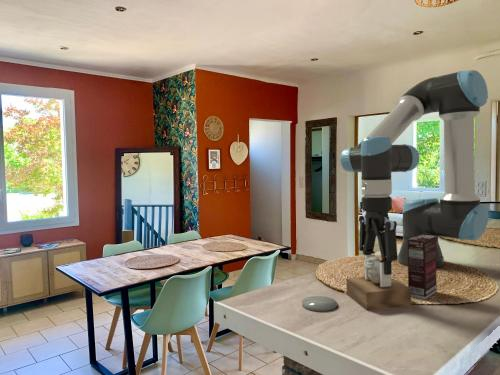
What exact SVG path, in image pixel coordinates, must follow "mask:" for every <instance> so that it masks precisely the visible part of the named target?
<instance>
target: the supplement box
mask: <svg viewBox="0 0 500 375" xmlns="http://www.w3.org/2000/svg"><path fill="white" fill-rule="evenodd" d="M407 240H408V266H407V271H408V272H407V279H408V280H407V284H408V285H407V286H408V287H409V288H411V298H416V299H420V300H427V299H428V298H430V297H431V296H433V295H434V294H435V293H437V290H438V288H437V267H436V236H431V235H418V236H415V237H412V238H410V239H407Z"/></svg>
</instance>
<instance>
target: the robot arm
mask: <svg viewBox="0 0 500 375" xmlns="http://www.w3.org/2000/svg"><path fill="white" fill-rule="evenodd" d="M488 97H489V91H488V85H487V82H486V80H485V78H484V76H483V74H481V73H480V72H479V71H477V70H475V69H470V70H462V71H461V70H459V71H457V72H451V73H448V74H443V75H439V76H435V77H434V76H433V77H429V78H427V79H424V80H422V81H420V82H419V83H417V84H415V85H414V86H412V87H411V88H409V89H408V90H407V91H406V92H405V93H404V94H402V96H400V98H398V100H397V101H396V103H395V107H394V108H393V109H392V110H391V111H390V112H389V113H388V114H387V115H386V116H385V117H384V118H383V119H381V121H380V122H379V123H378V124H377V125H376V126H375V127H374V128H373V129H372V130H371V131H370V132H369V133H368V134H367V135H366V136H365V137H363V138H362V139H361V141H360V143H358V144H357V145H356V146H355V147H348V148H345V149H344V150H342V152H341V154H340V159H339V161H340V165H341V167H342V169H343V170H344V171H345V172H349V173H361V184H360V187H361V194H362V195H363V196H362V197H361V210H362V211H363V212H365V214H364V215H360V216H359V217H358V220H359V242H358V244H359V245H358V246H359V249H358V250H359V251H360V252H362V254H363V255H364V261H365V260H367V259H368V258H370V257H376V255H375V254H376V252H375V250H374V249H375V244H376V239H377V243H378V248H379V251H380V257H381V259H380V260H379V261H380V287H388V286H391V278H392V271H393V270H392V269H393V268H392V262H395V261H398V263H399V264H401V265H405V266H407V267H408V240H407V239H410V238H412V237H415V236H418V235H431V236H436V268H439V267H443V266H444V265H445V258H444V255H443V252H442V250H441V246H440V243H439V237H440V238H441V237H442V238H450V239H454V240H455V239H457V240H461V241H477V240H478V239H480V238H481V237H482V236H483V235H484V233H485V230H486V228H487V225H488V222H489V212H488V208H487V207H486V206H485V205H483V204H481V198H480V197H479V196H478V195H477V194H476V193H475V189H476V188H475V186H476V185H475V179H476V177H475V118H477V117H478V115H480V113H481V111H480V110H481V108H482V107H484V106H485V105H486V104H487V102H488ZM480 107H481V108H480ZM432 113H438V117H439V118H440V119H441V120H443V126H444V127H443V133H444V134H443V136H444V139H443V142H444V143H443V145H444V147H443V148H444V149H443V150H444V194H442V196H441V197H439V199H438V198H437V197H431V198H429V197H428V198H421V199H410V200H405V201H404V202H403V204H402V212H401V214H402V242H401V246H400V248H399V253H398V246H397V225H398V223H397V221H396V220H394V221H392V220H390V217H389V212H390V211H392V208H393V207H392V206H393V205H392V204H393V200H392V197H391V196H390V195H392V194H393V185H392V173H406V172H407V173H408V172H410V171H413V170H414V169H416V168H417V167H418V165H419V163H420V158H421V157H420V153H419V150H418V149H417V148H416V147H415V146H413V145H411V144H406V143H405V144H404V143H402V144H394V143H395V142H396V141H397V140H398V138H399V137H400V136H401V135H402V134H403V133H404V132H405V131H406V129H407V128H408V127H409V126H410V125H412V123H413V122H415V121H418V120H419V119H421V118H422V117H423V116H425V115H427V114H428V115H429V114H432ZM364 277H365V279H370V278H369V276H368V271H366V269H365V268H364Z"/></svg>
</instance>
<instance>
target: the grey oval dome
mask: <svg viewBox="0 0 500 375" xmlns="http://www.w3.org/2000/svg"><path fill="white" fill-rule="evenodd" d="M301 306H302V308H304V309H306V310H308V311H312V312H323V313H324V312H330V311H333V310H335V309H336V308H338V307H337V306H338V302H337V300H335V298H332V297H328V296H324V295H313V296H307V297H304V298H303V299H302V300H301Z"/></svg>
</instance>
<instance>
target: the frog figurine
mask: <svg viewBox="0 0 500 375" xmlns="http://www.w3.org/2000/svg"><path fill="white" fill-rule="evenodd" d="M379 260H381V259H380V258H379V257H378V256H375V257H370V258H368V259H367V260H364V261H363V267H364V270H365V269H366V271H368V276H369V278H370V280H371V281H372V282H374V283H376V284H380V261H379Z"/></svg>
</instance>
